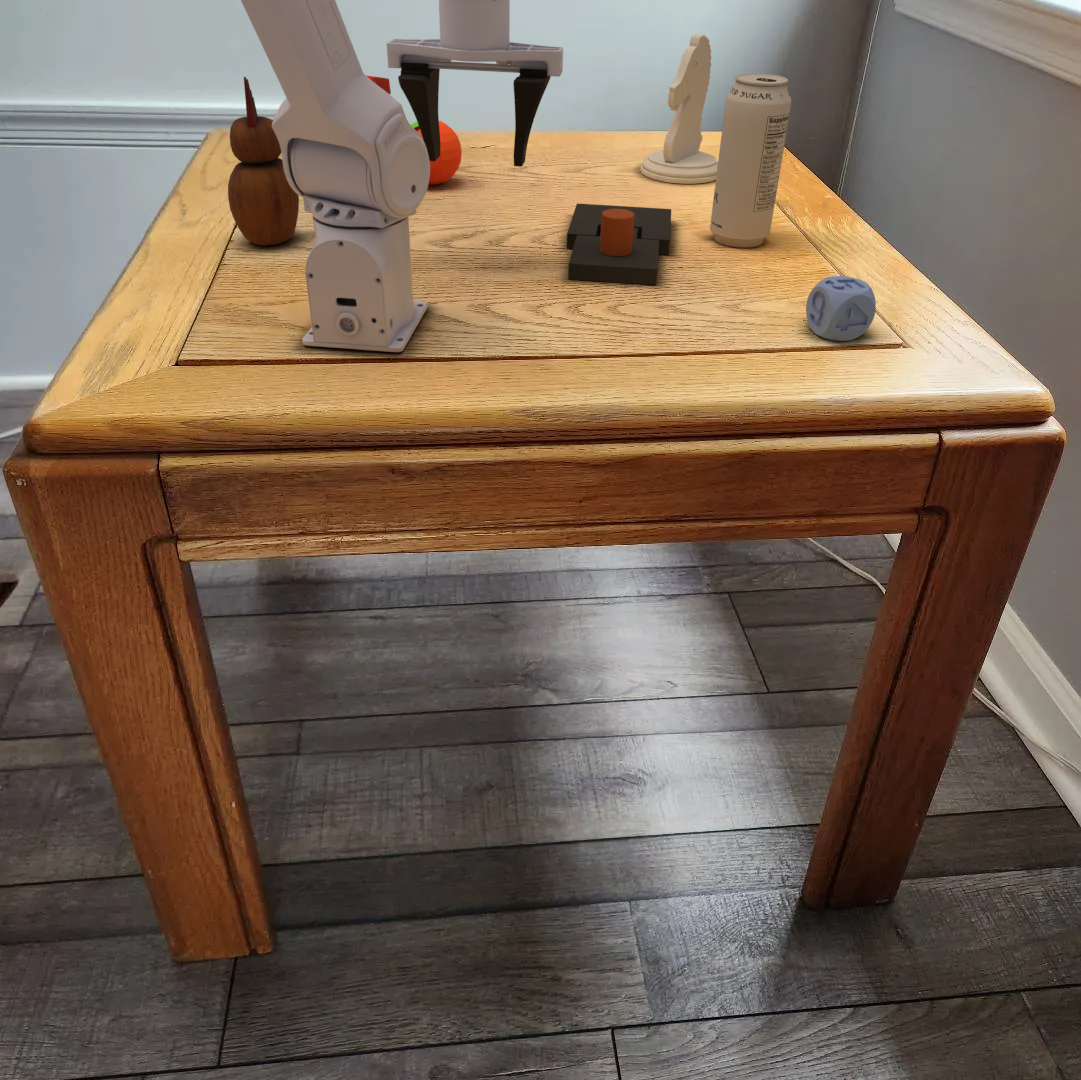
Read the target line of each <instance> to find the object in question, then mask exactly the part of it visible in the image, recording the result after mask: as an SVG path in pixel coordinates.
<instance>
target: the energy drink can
mask: <svg viewBox="0 0 1081 1080" xmlns="http://www.w3.org/2000/svg"><path fill="white" fill-rule="evenodd" d="M734 80H735V81H734V83H733V86H732V87H731V89H730V90H729V91H728V93H727V94H726V97H725V104H724V105H725V106H724V114H723V121H722V130H721V136H720V145H719V152H718V159H717V160H718V161H717V162H718V167H717V175H716V180H715V183H714V184H715V185H714V193H713V200H712V208H711V216H710V223H709V230H710V231H711V232H712V233H713V234H714V236H713V239H714V240H715V241H716V242H717V243H719V244H721V245H724V246H726V247H727V246H728V247H732V248H742V249H743V248H755V247H758V246H761V245H762V244H763V243H764V240H765V238H767V237H768V236H769V235H770V234H771V229H772V222H773V217H774V211H775V205H776V198H777V194H778V193H777V192H778V186H779V181H780V174H781V168H782V161H783V156H784V148H785V144H786V137H787V131H788V125H789V118H790V113H791V107H792V97H791V95H790V91H789V89H788V83H789V79H788V78H786V77H784V76H782V75H777V74H771V73H741V74H738V75H735V78H734Z"/></svg>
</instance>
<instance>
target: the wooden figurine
mask: <svg viewBox="0 0 1081 1080" xmlns="http://www.w3.org/2000/svg"><path fill="white" fill-rule="evenodd" d="M243 86H244V99H245V111H246V116H241V117H239V118H236V119H234V121H232V124H231V125H230V131H229V144H230V149H231V152H232V154H233V156H234V157H235V158H236V159H237V160H238V161H239V162H238V163H237V164H235V166H234V168H233V169H232V171H231V173H230V175H229V179H228V184H227V199H228V206H229V210H230V213H231V215H232V217H233V220H234V222H235V224H236V226H237V228H238V230H239V232H240V233H241V234H242V237H243V238H245V240H247V241H248V242H250V243H252V244H254V245H258V246H259V245H260V246H265V247H267V246H275V245H280V244H282V243H285V242H287V241H289V240H290V239H292V236H293V235H294V234H295V233H296V232H295V231H296V227H297V225H298V224H297V223H298V216H299V211H300V210H299V209H300V207H299V206H300V196H299V195H298V194H297V193H296V192H294V191H293V189H292V188H291V186H290V185H289V183H288V181H287V179H286V176H285V173H284V168H283V161H282V158H280V156H281V155H282V153H281V148H280V144H279V141H278V139H277V136H276V134H275V132H274V130H273V128H272V123H273V120H274V119H272V118H269V117H267V116H261V115H258V110H257V106H256V102H255V98H254V96H253V93H252V89H251V87H250V82H249V79H248V78H247V76H243Z"/></svg>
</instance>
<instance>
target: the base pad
mask: <svg viewBox="0 0 1081 1080" xmlns="http://www.w3.org/2000/svg"><path fill="white" fill-rule="evenodd" d="M608 209H625V210H629V211H631V212H633V213H634V215H635V216H634V228H638V234H637V239H649V240H659V254H658V255H662V256H663V255H664V256H669V254H670V247H671V227H672V226H671V225H672V208H663V207H662V208H659V207H643V206H625V205H610V204H593V203H592V204H591V203H578V202H577V203H576V205H575V208H574V210H573V214H572V218H571V221H570V223H569V226H568V230H567V233H566V249H567V250H568V249H569V250H573V247H574V244H575V240H576V237H577V235H585V236H600V232H601V217H602V212H603V211H605V210H608Z"/></svg>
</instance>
